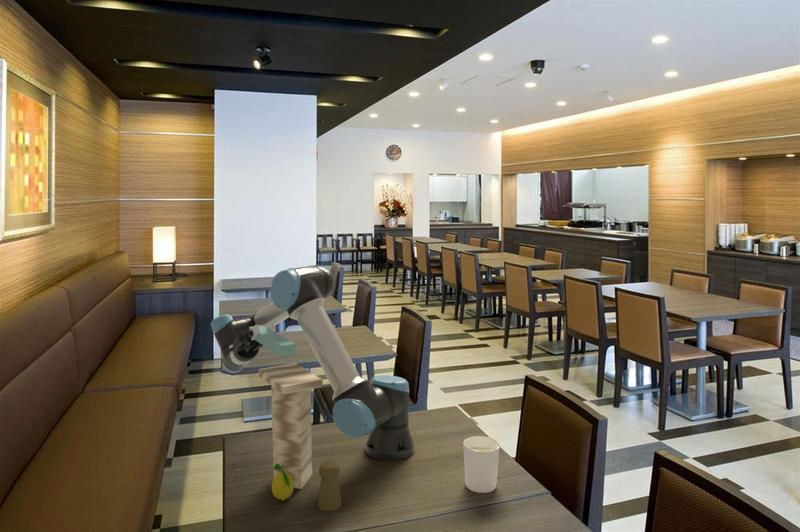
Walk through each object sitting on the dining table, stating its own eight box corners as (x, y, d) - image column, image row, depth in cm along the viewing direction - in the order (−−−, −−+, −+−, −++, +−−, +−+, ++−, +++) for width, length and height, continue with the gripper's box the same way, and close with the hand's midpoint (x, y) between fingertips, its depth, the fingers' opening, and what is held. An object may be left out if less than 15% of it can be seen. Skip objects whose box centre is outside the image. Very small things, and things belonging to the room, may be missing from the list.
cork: (343, 499, 147) (343, 458, 146) (338, 511, 141) (338, 470, 140) (320, 497, 148) (320, 457, 146) (315, 510, 142) (314, 468, 140)
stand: (298, 460, 168) (296, 362, 165) (324, 486, 153) (323, 379, 150) (261, 470, 162) (258, 369, 159) (284, 498, 147) (282, 387, 144)
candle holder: (501, 480, 157) (502, 438, 156) (495, 497, 148) (496, 453, 147) (466, 474, 160) (467, 433, 159) (458, 491, 151) (459, 448, 150)
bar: (249, 336, 173) (249, 327, 173) (262, 334, 175) (261, 325, 175) (281, 356, 151) (281, 345, 151) (295, 354, 154) (295, 343, 153)
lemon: (274, 493, 150) (273, 457, 149) (296, 493, 150) (295, 457, 148) (267, 506, 143) (266, 469, 142) (290, 507, 143) (289, 469, 142)
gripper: (271, 358, 188) (295, 336, 170) (220, 366, 179) (239, 344, 161) (267, 336, 190) (290, 312, 172) (216, 343, 181) (234, 319, 163)
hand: (265, 327), depth 166 cm, fingers closed on bar, 4 cm apart
